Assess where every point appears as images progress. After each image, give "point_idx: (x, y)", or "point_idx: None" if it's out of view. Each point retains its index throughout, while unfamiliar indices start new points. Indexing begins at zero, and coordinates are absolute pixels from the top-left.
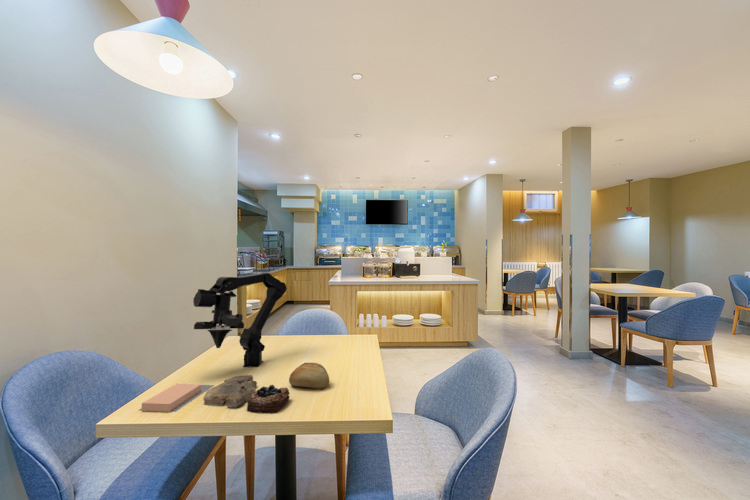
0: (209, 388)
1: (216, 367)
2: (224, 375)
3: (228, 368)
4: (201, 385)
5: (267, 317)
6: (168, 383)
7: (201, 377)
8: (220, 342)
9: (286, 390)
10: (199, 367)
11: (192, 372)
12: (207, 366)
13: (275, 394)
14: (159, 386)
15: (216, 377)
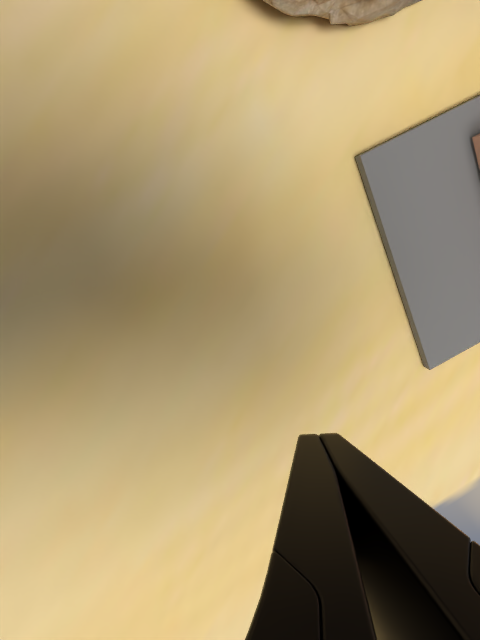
0: (415, 130)
1: (96, 533)
2: (169, 313)
3: (47, 440)
4: (400, 242)
5: None
6: (431, 473)
7: (283, 416)
8: (341, 492)
9: None
10: (171, 615)
11: (255, 553)
12: (125, 599)
13: None
14: (475, 465)
15: (230, 326)
